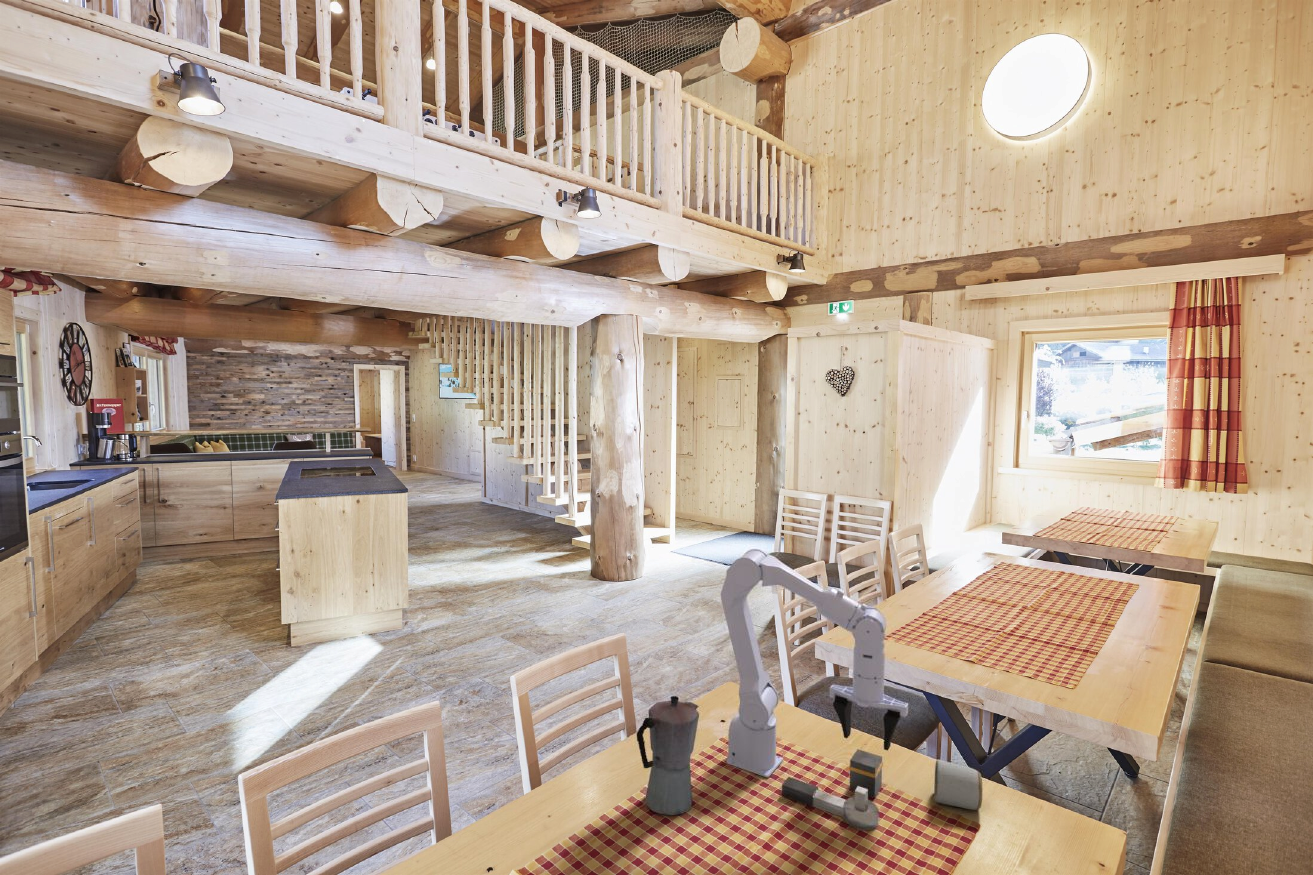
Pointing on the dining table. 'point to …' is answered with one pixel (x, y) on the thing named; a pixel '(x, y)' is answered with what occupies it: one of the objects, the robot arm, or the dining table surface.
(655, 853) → the dining table surface
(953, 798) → the ceramic mug
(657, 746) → the moka pot
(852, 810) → the ratchet
